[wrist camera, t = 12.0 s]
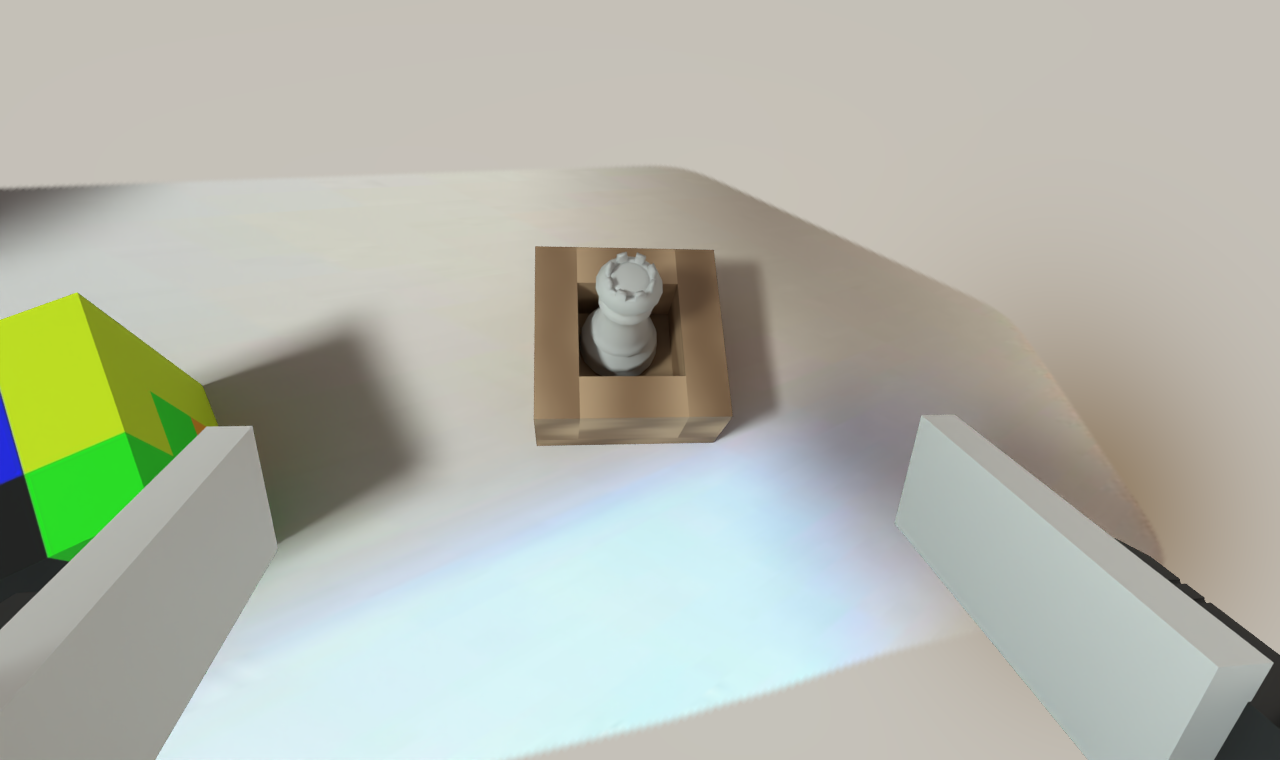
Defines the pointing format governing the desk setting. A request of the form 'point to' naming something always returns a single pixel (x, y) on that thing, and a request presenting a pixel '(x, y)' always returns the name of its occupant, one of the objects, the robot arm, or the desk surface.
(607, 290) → the rook chess piece
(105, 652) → the robot arm
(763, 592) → the desk surface
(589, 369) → the socket block
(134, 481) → the puzzle toy
